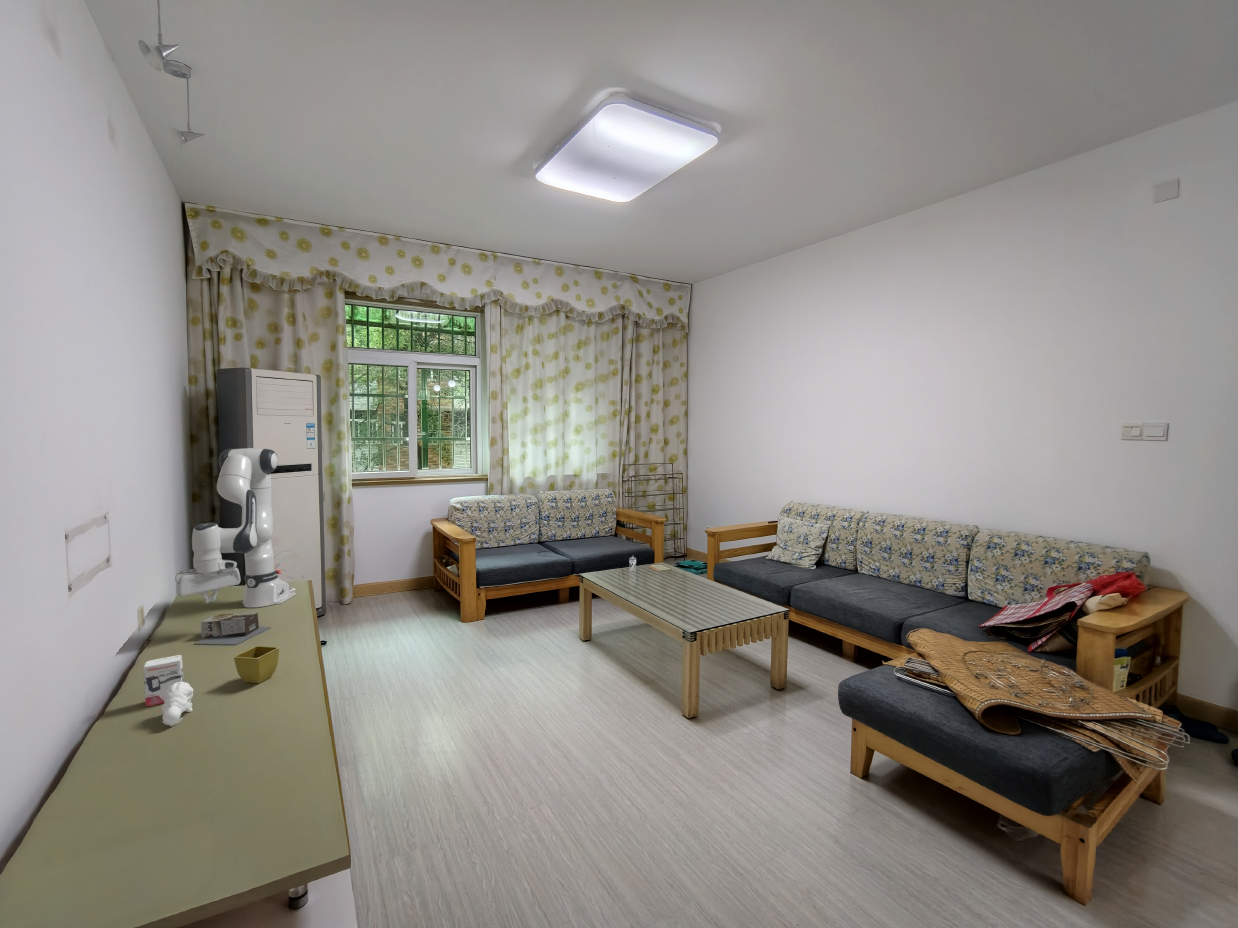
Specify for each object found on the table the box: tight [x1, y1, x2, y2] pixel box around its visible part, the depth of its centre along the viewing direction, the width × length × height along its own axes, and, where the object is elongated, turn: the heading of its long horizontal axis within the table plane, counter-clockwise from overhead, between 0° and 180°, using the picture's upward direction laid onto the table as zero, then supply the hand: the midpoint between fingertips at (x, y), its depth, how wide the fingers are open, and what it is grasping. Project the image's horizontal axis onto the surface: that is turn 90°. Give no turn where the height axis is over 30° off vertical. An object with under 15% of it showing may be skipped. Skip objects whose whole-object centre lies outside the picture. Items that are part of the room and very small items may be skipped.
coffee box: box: [200, 612, 260, 638], centre depth 218 cm, size 9×6×16 cm
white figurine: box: [160, 681, 194, 727], centre depth 153 cm, size 6×8×12 cm
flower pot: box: [233, 645, 280, 684], centre depth 176 cm, size 9×9×9 cm
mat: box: [193, 626, 272, 646], centre depth 216 cm, size 18×17×1 cm
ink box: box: [142, 654, 185, 707], centre depth 164 cm, size 8×5×12 cm, turn 123°
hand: (210, 601), depth 216 cm, fingers closed
